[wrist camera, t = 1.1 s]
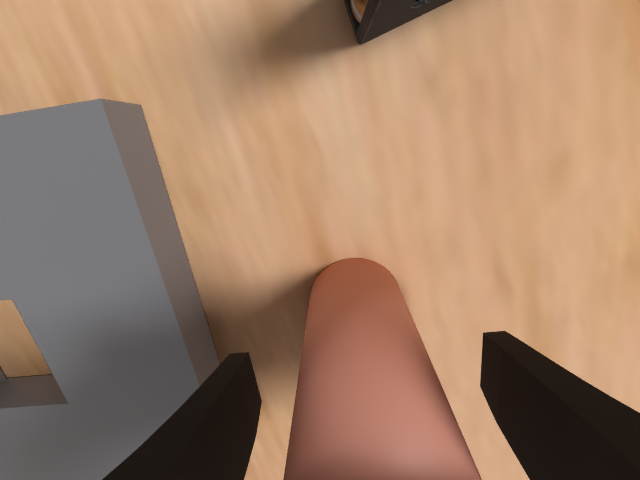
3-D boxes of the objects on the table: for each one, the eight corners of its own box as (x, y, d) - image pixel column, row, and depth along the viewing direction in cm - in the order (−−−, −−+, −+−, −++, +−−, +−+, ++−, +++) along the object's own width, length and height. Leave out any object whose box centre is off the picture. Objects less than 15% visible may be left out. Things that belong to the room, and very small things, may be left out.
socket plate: (246, 450, 17) (235, 490, 15) (-37, 466, 18) (-80, 504, 16) (140, 104, 11) (100, 98, 9) (-264, 170, 12) (-369, 176, 11)
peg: (402, 332, 14) (485, 571, 6) (316, 340, 14) (297, 574, 7) (397, 253, 12) (495, 433, 5) (304, 263, 13) (261, 446, 5)
